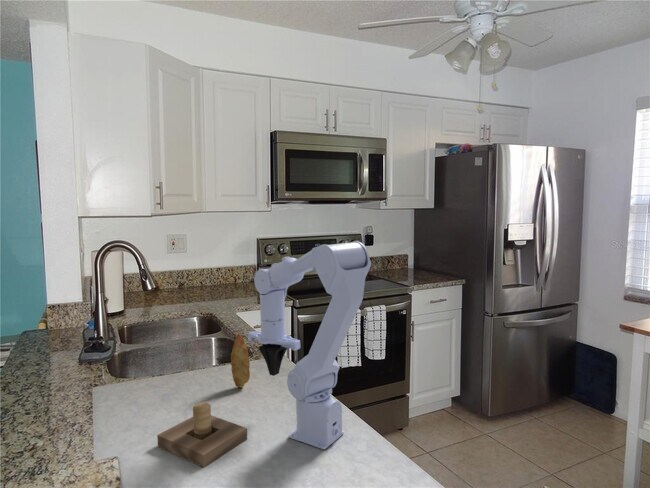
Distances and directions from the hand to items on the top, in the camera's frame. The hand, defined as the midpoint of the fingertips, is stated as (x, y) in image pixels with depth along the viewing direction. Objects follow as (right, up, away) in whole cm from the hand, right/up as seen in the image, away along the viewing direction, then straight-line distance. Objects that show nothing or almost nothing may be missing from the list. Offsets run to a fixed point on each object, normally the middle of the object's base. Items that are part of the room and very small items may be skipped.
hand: (274, 373), depth 108 cm
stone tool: (-11, -8, +15) cm, 20 cm away
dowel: (-14, -11, -13) cm, 22 cm away
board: (-14, -11, -13) cm, 22 cm away
